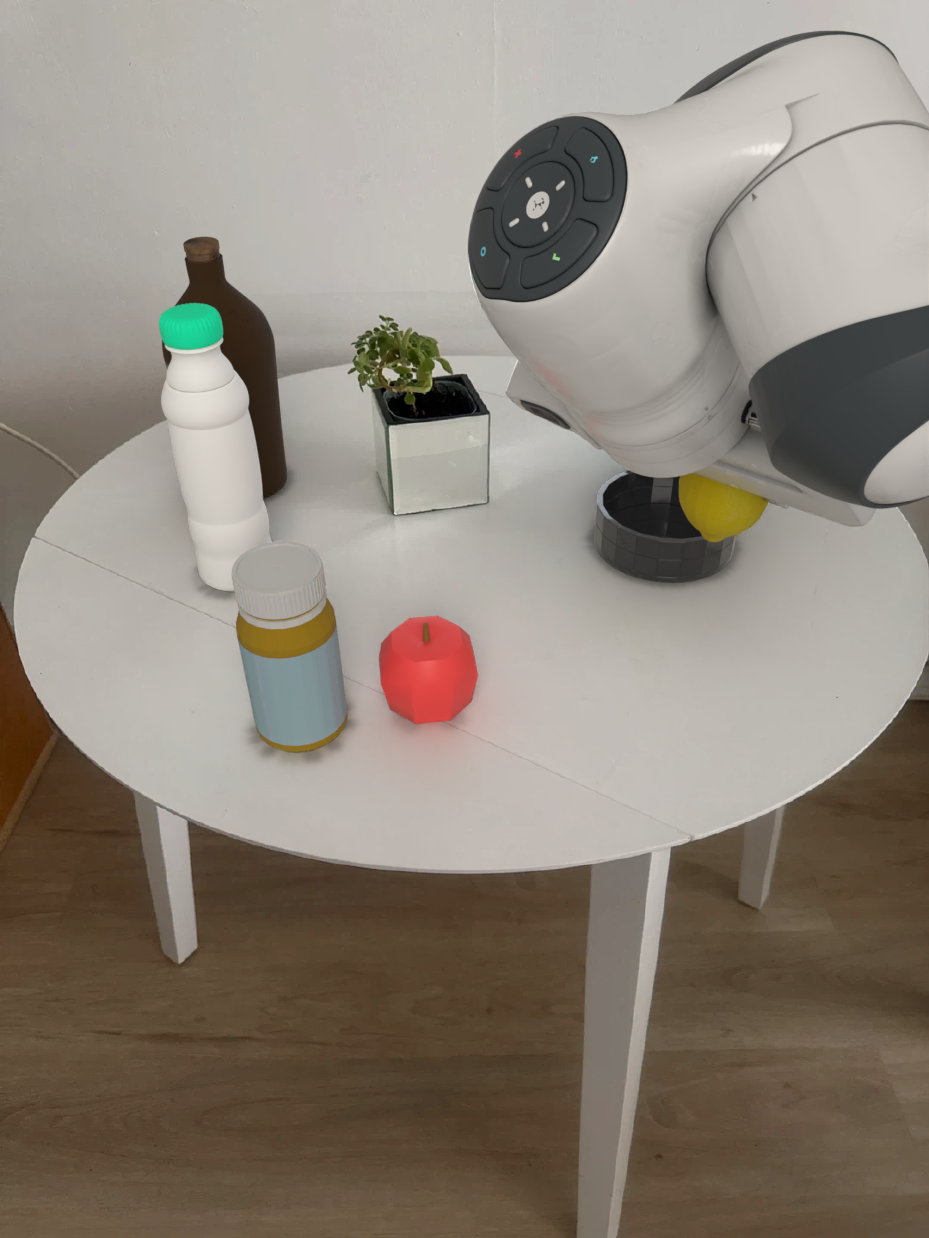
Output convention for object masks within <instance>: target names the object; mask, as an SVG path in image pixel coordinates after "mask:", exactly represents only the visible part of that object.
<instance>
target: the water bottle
mask: <svg viewBox="0 0 929 1238" xmlns="http://www.w3.org/2000/svg"><path fill="white" fill-rule="evenodd" d="M158 328H159V335H160V338H161V341H162V340H163V342H164V344H165V348H166V349H167V350H169V351H170V352H171V354H172V359H171V362H170V364H169V366H168V369H167V368H166V374H165V375H166V376H165V377H166V378H165V381H164V383H163V387H162V391H161V394H160V405H161V410H162V413H163V415H164V417H165V418H166V420H167V428H168V429H167V430H168V436H169V443H170V447H171V454H172V458H173V463H174V468H175V471H176V475H177V476H176V477H177V479H178V484H179V488H180V492H181V496H182V498H183V499H182V500H184V504H185V507H186V510H187V525H188V529H189V534H190V537H191V540H192V542H193V545H194V553H195V555H194V556H195V562H196V566H197V571H198V574H199V578H200V579H201V580H202V582H203V583H204V584H206V585H207V586H209V587H210V588H213V589H215V590H219V591H223V592H234V587H233V582H232V577H231V576H232V575H231V573H232V567H233V565H234V563H235V561H236V560H237V559H238V558H239V557H240V556H241V555H242V554H243V553H245V552H246V551H248V550H250V549H252V548H254V547H256V546H259V545H262V544H266V543H271V542H273V541H272V538H271V535H270V519H269V513H268V509H267V506H266V503H265V501H264V499H263V490H262V479H261V471H260V464H259V457H258V451H257V445H256V440H255V435H254V430H253V425H252V421H251V417H250V414H249V410H248V406H249V395H248V391H247V388H246V386H245V384H244V382H243V381H242V379H241V378H240V377H239V375H238V374H237V372H236V371H235V370H234V369H233V366H232V364H231V363H230V361H229V360H228V359H227V358H226V357H225V356H224V355H223V354H222V352H221V350H220V345H221V344H222V342H223V337H222V336H223V325H222V320H221V316H220V314H219V312H218V311H217V310H216V309H215V308H214V307H212V306H210V305H207V304H200V303H189V304H187V303H186V304H181V305H177V306H175V305H174V306H171V307H169V308H167V309H166V310H164V311H163V312H162V313H161V314H160V316H159V319H158Z"/></svg>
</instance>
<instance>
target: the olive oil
mask: <svg viewBox="0 0 929 1238" xmlns="http://www.w3.org/2000/svg"><path fill="white" fill-rule="evenodd" d="M182 245H183V250H184V253H185V257H184V263H185V268H186V272H187V277H188V281H189V282H188V286H187V288H186V289H185V291H184V292H183V293H182V295H181V296H180V298H179V299H178V300H177V301H176V303H175V304H174V306H177V305H181V304H186V303H187V304H189V303H200V304H207V305H210V306H212V307H214V308H215V309H216V310H217V311H218V312H219V314H220V316H221V320H222V325H223V336H222V337H223V342H222V344H221V345H220V350H221V352H222V354H223V355H224V356H225V357H226V358H227V359H228V360H229V361H230V363H231V364H232V366H233V369H234V370H235V371H236V372H237V374H238V375H239V377H240V378H241V379H242V381H243V382H244V384H245V386H246V388H247V391H248V395H249V406H248V410H249V414H250V417H251V421H252V425H253V430H254V435H255V440H256V445H257V451H258V457H259V464H260V471H261V479H262V490H263V500H265V499H266V498H269V497H270V496H273V495H274V494H276V493H277V492H278V491H280V490H281V489H282V488H283V487H284V485H285V484H286V482H287V478H288V471H287V462H286V452H285V443H284V442H285V441H284V433H283V423H282V411H281V402H280V400H281V399H280V389H279V379H278V366H277V352H276V341H275V337H274V333H273V330H272V327H271V324H270V323H269V320H268V318H267V317H266V315H265V313H264V312H263V310H261V308H260V307H259V306H258V305H257V304H256V303H254V301H252V300H251V299H250V298H248V297H247V296H246V295H244V293H242V292H240V290H238V289H237V288H236V287H235V286H234V285H232V284H231V283H230V282H229V281H228V280H227V278H226V273H225V264H224V258H223V254H222V253H221V252H220V249H221V245H220V242H219V240H218V239H217V237H216V238H215V237H212V236H195V237H191V238H189V239H187V240H185V241H184V242H183V244H182ZM161 347H162V348H161V350H162V351H161V352H162V357H163V360H164V365H165V369H166V370H167V369H168V366H169V364H170V362H171V359H172V354H171V352H170V351H169V350H167V349H166V348H165V344H164V342H163V340H162V339H161Z"/></svg>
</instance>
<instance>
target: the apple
mask: <svg viewBox="0 0 929 1238" xmlns="http://www.w3.org/2000/svg"><path fill="white" fill-rule="evenodd" d="M378 665H379V677H380V678H379V679H380V685H381V689H382V691H383V694H384V697H385V700H386V702H387V705H388V708H389V710H390V711H392V712H393V713H396V714H398V715H400V716H401V717H403V718H405V719H407V720H408V721H410V722H412V723H413V724H416V725H418V724H429V723H430V724H431V723H441V722H449V721H452V720H453V719H454V718H455V717H457V715H458V714H460V713H461V712H462V711H463V710H464V709H465V708H466V707H467V706H468V705H470V704H471V703H472V701H473V697H474V694H475V689H476V686H477V682H478V679H479V672H478V668H477V662H476V657H475V652H474V648H473V643H472V639H471V636H470V634H468V632H466V631H465V630H464V629H463V628H462V627H461V626H460V625H458V624H456V623H454V622H452V621H449V620H448V619H446V618H444V617H442V616H439V615H427V616H426V615H425V616H415V617H408V618H407V619H406V620H405V621H404V622H402V623H401V624H400V625H398V626H397V627H396V628H394V629H393V630H392V631H390V633H389V634H388V635H387V636H386V637H385V638H384V639H383V641H382V642H381V643H380V648H379V654H378Z"/></svg>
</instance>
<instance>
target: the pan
mask: <svg viewBox="0 0 929 1238" xmlns="http://www.w3.org/2000/svg"><path fill="white" fill-rule="evenodd" d="M679 479H680V476H678V477H670V478H656V477H648V476H643V475H640V474H637V473H634V472H632V471H629V470H625V471H622V472H620V473H616V474H615V475H613V476H612V477H610V478H608V479H607V480H606V481H604V482H603V483H602V485H601V487H600V488H599V489H598V491H597V493H596V499H595V500H596V501H595V512H594V525H593V529H594V530H593V543H594V547H595V549H596V550H597V553H598V555H599V556H600V557H601V558H602V560H604V561H605V562H606V563H607V564H608V565H610V566H611V567H613V568H615V569H616V570H618V571H620V572H621V573H624V574H626V575H629V576H631V577H634V578H637V579H641V580H644V581H650V582H656V583H669V584H676V583H677V584H678V583H679V584H680V583H688V582H689V583H690V582H695V581H699V580H700V581H701V580H702V579H705V578H709V577H711V576H714V575H715V574H717V573H718V572H720V571H722V570H723V569H724V568H725V567H726V566H727V565H728V564H729V562H730V561H731V559H732V557H733V553H734V550H735V547H736V543H737V537H738V535H735V536H731V537H727V538H725V539H723V540H722V541H719V542H710V541H707V540H706V539H705V538H703V536H702V534H701V533H700V531H699V530H697V529H696V528H695V527H694V526H693V525H692V524H691V523H690V522H689V520H688V519H687V517H686V515H685V513H684V511H683V509H682V507H681V504H680V500H679Z"/></svg>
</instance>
